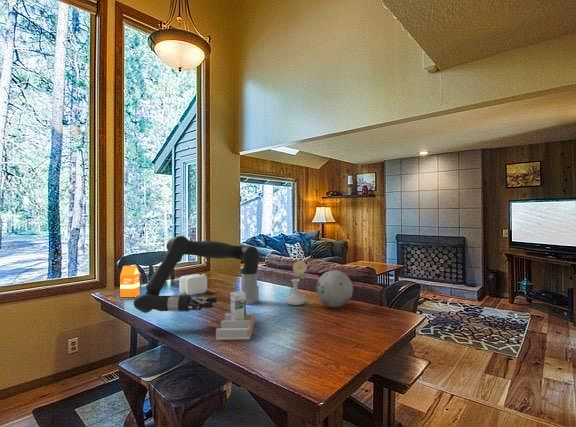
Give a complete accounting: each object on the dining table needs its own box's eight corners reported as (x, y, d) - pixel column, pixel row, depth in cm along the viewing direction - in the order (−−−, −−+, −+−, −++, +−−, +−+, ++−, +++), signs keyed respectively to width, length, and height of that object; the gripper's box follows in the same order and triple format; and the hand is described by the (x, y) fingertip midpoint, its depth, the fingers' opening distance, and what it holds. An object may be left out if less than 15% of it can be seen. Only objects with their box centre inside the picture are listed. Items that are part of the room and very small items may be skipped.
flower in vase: (282, 305, 179) (282, 261, 179) (290, 300, 190) (289, 258, 190) (304, 308, 174) (303, 262, 174) (310, 302, 185) (310, 259, 185)
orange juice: (134, 298, 201) (133, 266, 201) (120, 298, 202) (119, 266, 202) (139, 294, 209) (139, 264, 209) (126, 295, 209) (126, 264, 209)
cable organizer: (186, 296, 203) (185, 278, 203) (179, 293, 211) (178, 276, 211) (207, 292, 213) (207, 275, 213) (200, 289, 221) (199, 273, 221)
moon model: (360, 306, 176) (359, 270, 176) (339, 314, 162) (338, 275, 162) (331, 299, 190) (330, 266, 190) (309, 307, 176) (308, 270, 176)
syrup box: (234, 326, 144) (233, 294, 144) (230, 322, 149) (230, 291, 149) (246, 324, 147) (245, 293, 147) (242, 320, 152) (241, 290, 152)
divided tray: (215, 339, 132) (215, 330, 132) (226, 321, 154) (225, 313, 154) (249, 339, 132) (249, 329, 132) (254, 321, 154) (254, 313, 154)
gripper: (174, 299, 140) (211, 298, 140) (184, 291, 155) (217, 290, 155) (174, 316, 140) (211, 315, 140) (184, 306, 155) (218, 306, 155)
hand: (214, 302), depth 148 cm, fingers open, 8 cm apart
